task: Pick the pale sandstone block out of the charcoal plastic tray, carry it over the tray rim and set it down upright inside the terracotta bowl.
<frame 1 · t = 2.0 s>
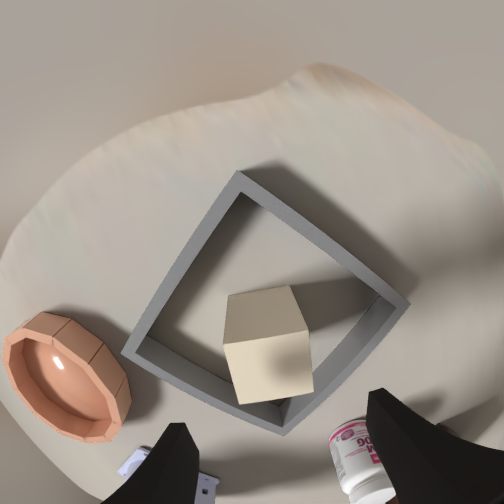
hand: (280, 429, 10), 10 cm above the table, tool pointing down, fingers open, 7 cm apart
sandstone block: (263, 317, 19), resting in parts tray
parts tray: (263, 318, 19), on the table
pill bottle: (350, 432, 23), on the table
bowl: (70, 374, 20), on the table
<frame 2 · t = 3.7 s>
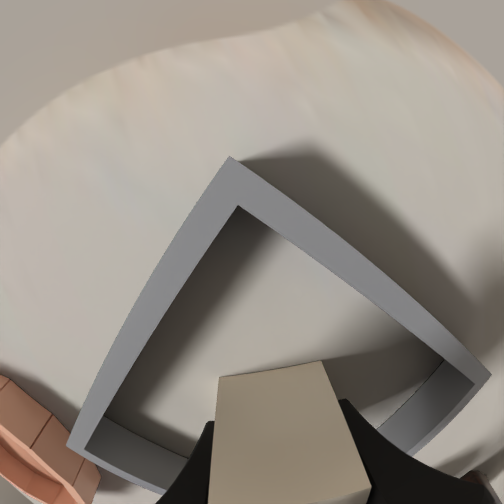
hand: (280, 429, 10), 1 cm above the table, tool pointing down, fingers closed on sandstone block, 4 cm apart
dark brown boxy piece: (462, 486, 17), on the table
sandstone block: (276, 405, 11), resting in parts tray, touching gripper
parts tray: (276, 405, 11), on the table
bowl: (25, 436, 12), on the table
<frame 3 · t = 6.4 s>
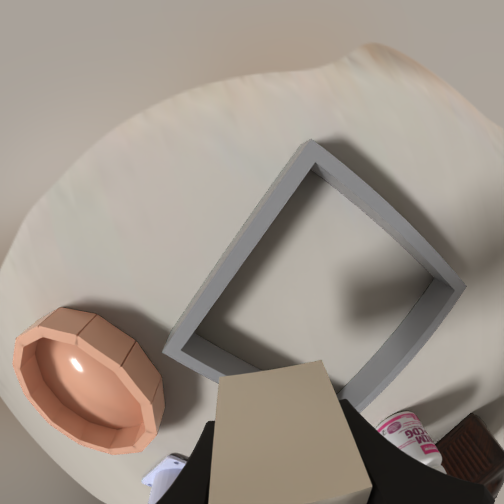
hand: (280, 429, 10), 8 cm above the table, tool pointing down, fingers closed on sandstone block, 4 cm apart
dark brown boxy piece: (465, 434, 24), on the table
sandstone block: (276, 404, 11), point 7 cm above the table, touching gripper
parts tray: (322, 305, 17), on the table
pill bottle: (392, 425, 21), on the table
bowl: (91, 378, 19), on the table
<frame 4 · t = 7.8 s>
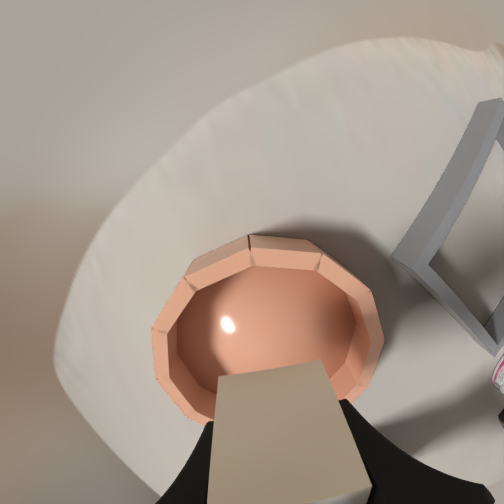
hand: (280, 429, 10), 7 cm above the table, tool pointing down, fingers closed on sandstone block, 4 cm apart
sandstone block: (276, 404, 11), point 6 cm above the table, touching gripper
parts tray: (491, 233, 16), on the table
bowl: (266, 336, 17), on the table
when the fingers open (4 cm above the table, at t = 9.0 s): sandstone block drops 1 cm, resting on bowl.
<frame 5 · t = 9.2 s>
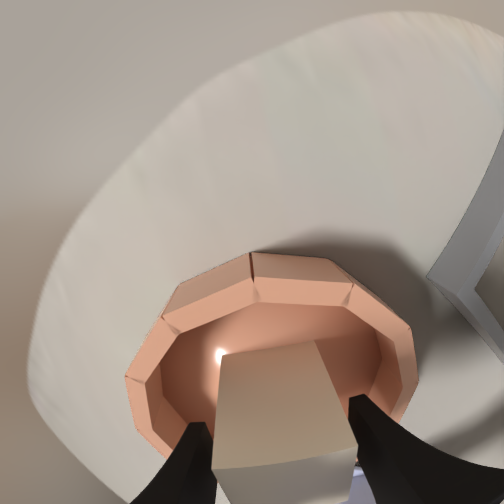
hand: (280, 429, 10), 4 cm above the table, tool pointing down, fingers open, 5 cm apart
sandstone block: (273, 383, 12), point 1 cm above the table, touching bowl
bowl: (272, 376, 13), on the table
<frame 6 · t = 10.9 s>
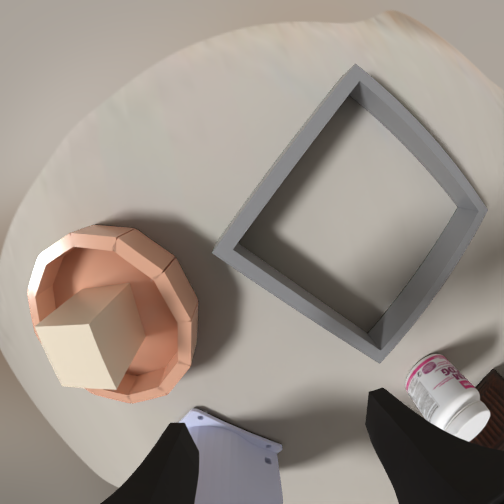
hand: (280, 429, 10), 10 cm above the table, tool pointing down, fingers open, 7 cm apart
dark brown boxy piece: (486, 396, 24), on the table
sandstone block: (112, 312, 18), point 1 cm above the table, touching bowl
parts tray: (364, 220, 18), on the table
pill bottle: (424, 372, 22), on the table
bowl: (116, 310, 19), on the table
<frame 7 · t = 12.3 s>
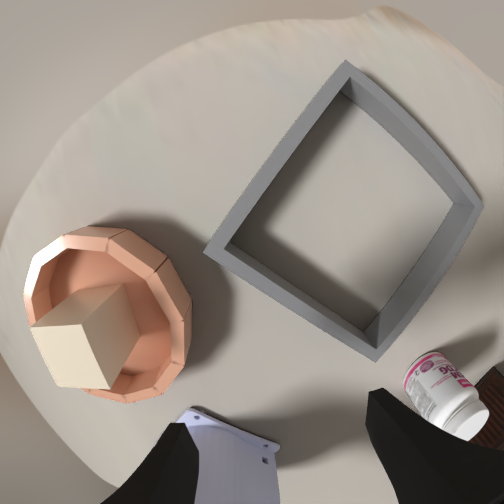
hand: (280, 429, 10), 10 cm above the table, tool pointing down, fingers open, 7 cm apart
dark brown boxy piece: (486, 394, 24), on the table
sandstone block: (107, 313, 18), point 1 cm above the table, touching bowl
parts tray: (357, 217, 18), on the table
pill bottle: (422, 370, 22), on the table
bowl: (111, 310, 19), on the table
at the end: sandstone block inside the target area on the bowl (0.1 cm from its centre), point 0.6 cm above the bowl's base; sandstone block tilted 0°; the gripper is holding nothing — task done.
